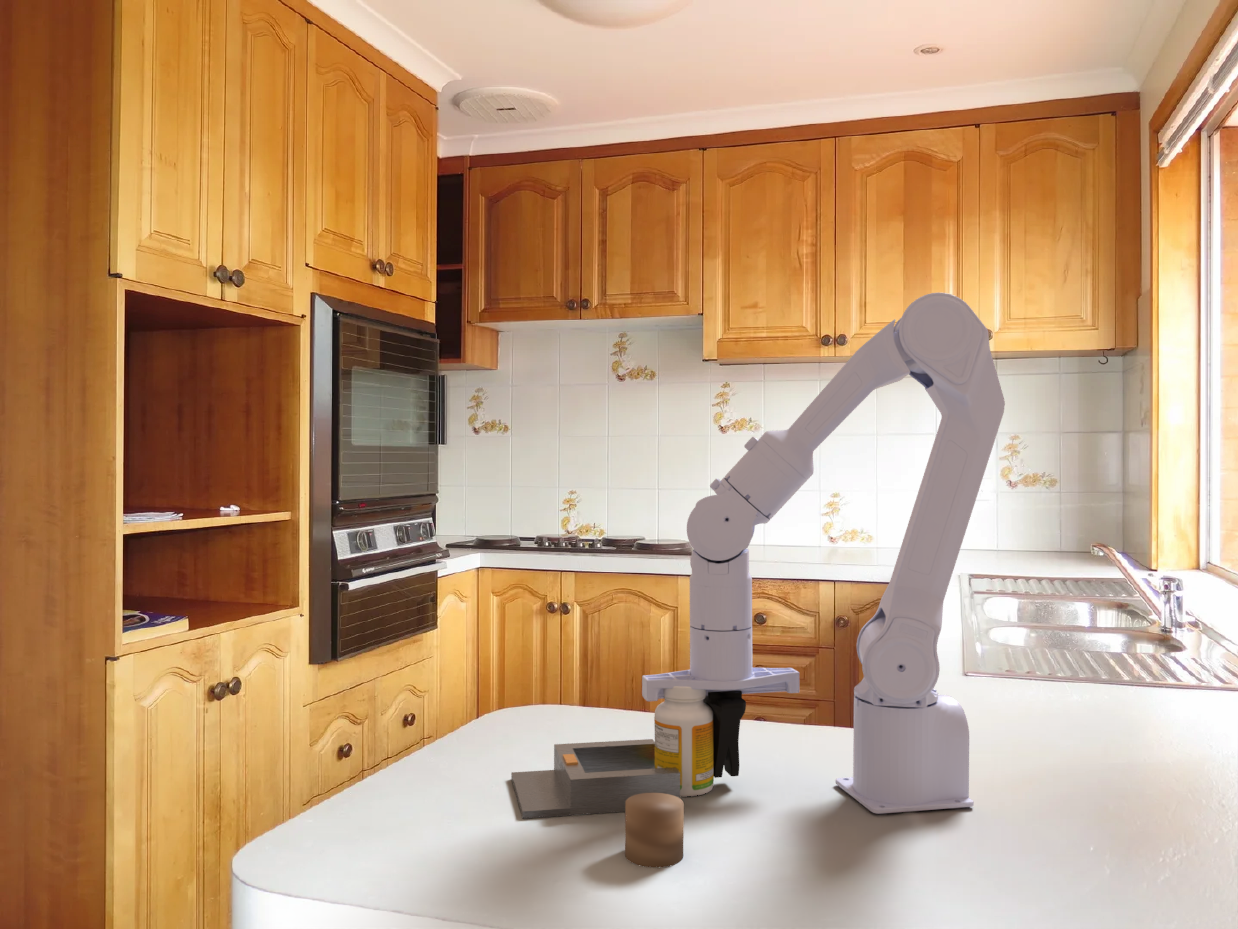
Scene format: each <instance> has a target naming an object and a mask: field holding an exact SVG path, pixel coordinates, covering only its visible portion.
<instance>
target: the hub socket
mask: <svg viewBox="0 0 1238 929" xmlns="http://www.w3.org/2000/svg"><path fill="white" fill-rule="evenodd" d="M553 747H554V748H553V749H554V750H553V762H554V763H553V769H550V770H549V769H547V770H546V769H545V770H533V771H532V770H531V771H529V770H528V771H513V772H512V771H511V782H512V786H513V790H514V793H515V795H516V796H515V797H516V799H517V804H518V807H519V811H520V814H521V818H522V819H536V818H551V817H553V818H554V817H565V816H566V817H567V816H579V815H580V816H581V815H593V814H594V815H595V814H597V815H598V814H609V813H610V814H611V813H623V812H624V813H625V805H626V800H627V799H628V798H629V797H631V796H634V795H637V794H642V793H664V794H670V795H673V796H676V797H678V798H680V799H681V797H680V772H679V771H678V770H677V768H676V767H672V768H655V739H653V738H650V739H649V738H646V739H645V738H644V739H632V740H631V739H629V740H627V739H626V740H611V741H610V740H609V741H608V740H607V741H595V742H593V741H591V742H576V743H575V742H574V743H573V742H572V743H559V744H558V743H557V744H556V743H555V744H554V745H553Z"/></svg>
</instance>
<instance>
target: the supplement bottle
mask: <svg viewBox="0 0 1238 929" xmlns="http://www.w3.org/2000/svg"><path fill="white" fill-rule="evenodd" d="M663 693H664V698H663V699H664V701H662V702H661V703H660V704H658V705H657V706H656V707H655V709H654V710H655V711H654V717H653V718H654V724H653V725H654V742H655V768H672V767H676V768H677V770H678V771H679V772H680V796H681V797H680V798H686V797H687V796H691V797H697V795H698V796H702V795H705V793H706V794H708V793H709V792H711V791H712V790H713V787H714V778H715V777H714V718H713V711H712V709H711V707H710V706H709V705H707V704H705V703H704V702H703V699H705V697H706V690H699V689H692V688H691V687H686V686H674V687H673V688H672V689H663ZM687 798H688V797H687Z"/></svg>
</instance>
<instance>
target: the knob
mask: <svg viewBox="0 0 1238 929" xmlns="http://www.w3.org/2000/svg"><path fill="white" fill-rule="evenodd" d="M684 808H685V804H684V801H683V800H682V799H681V797H680V798H678V797H676V796H673V795H670V794H664V793H642V794H637V795H634V796H631V797H629V798H628V799H627V800H626V805H625V812H624V813H625V814H624V815H625V816H624V817H625V822H624V823H625V824H624V827H625V828H624V829H625V830H624V836H625V837H624V838H625V839H624V849H625V850H624V856H625V858H626V860H627V861H628V862H630V863H631V864H633V865H637V866H639V865H640V867H643V866H644V867H645V868H653V869H654V868H655V869H656V868H657V869H658V868H659V867H660V868H667V866H668V867H671V866H670V865H672V866H675V865H676V864H679V863H681V861H683V859H684V827H685V826H684V825H685V823H684V814H685V813H684V812H685V809H684ZM660 868H659V869H660Z"/></svg>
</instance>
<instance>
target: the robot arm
mask: <svg viewBox="0 0 1238 929" xmlns="http://www.w3.org/2000/svg"><path fill="white" fill-rule="evenodd" d="M996 369H997V368H996V366H995V363H994V358H993V355H992V351H991V346H990V337H989V329H988V328H987V327H986V325H985V324H984V323H983V322H982V320H981V319H980V318H979V317H978V315H977V313H975V311H974V310H973V309H972V307H970V305H969V304H967V302H966V301H964V300H963V299H962V298H960V297H958V296H957V295H954V294H951V293H947V292H931V293H927V294H924V295H922V296H920V297H918V298H916V299H915V300H913V302H911V303H910V304H909V305H908V306H907V308H906V309H905V310H904V311H903V314H902V316H901V317H900V318H899V319H898V320H897V322H896V319H893V320H892V321H890V322H889V323H888V324H886V325H884V327H883V328H882V329H880V330H879V331H878V332H877V333H875V334H874V335H873V336H872V337H871V338H870V339H869V340H867V341H866V342H865V343H864V344H862V345H861V346H860V347H859V348H858V349H857V350H856V351H855V352H854V353H853V355H852V356H851V357H850V358H849V359H848V360H847V361H846V362H845V363H844V365H843V366H842V367H841V369H839V370H838V372H837V373H836V374H834V376H833V377H832V379H831V380H830V381H829V382H828V383H827V384H826V385H825V386H824V388H823V389H822V390H821V391H820V392H819V394H817V396H816V397H815V398H814V399H813V400H812V402H811V403H809V405H807V407H806V408H805V410H803V412H802V413H801V414H800V415H799V417H797V418H796V419H795V421H794V422H793V423H792V424H791V425H790V426H789V428H788V429H781V430H778V429H777V430H774V429H773V430H766V431H764V433H763V434H762V435H761V436H760V437H759V438H756V437H755V436H751V437H750V439H748V440H747V442H746V443H745V444H744V448H745V449H746V450H747V452H746V453H745V454H744V455H743V456H741V458H740V459H739V460H738V461H737V463H735V464H734V466H732V468H731V469H730V470H729V471H728V472H727V473H726V474H725V475H724V476H723V478H722V479H721V480H720V479H719V478H715V479H714V480H713V481H712V482H711V483H710V485H709V487H710V489H711V490H712V491H713V492H714V493H715V494H712V495H708V496H705V497H703V498H701V499H699V500H697V501H696V503H695V506H694V508H693V509H692V510H691V512H690V514H689V515H688V516H689V517H688V518H687V522H686V534H687V539H688V541H689V543H690V547H691V548H692V550H691V556H690V568H691V574H690V575H689V669H685V670H678V671H672V672H671V671H670V672H664V673H658V674H656V673H655V674H647V675H645V674H644V675H642V676H641V679H642V680H641V686H642V687H641V694H642V695H641V696H642V698H643V699H644V700H645V701H646V702H657V701H659V700H661V699H664V693H663V689H672V688H673V687H674V686H686V687H691V688H692V689H699V690H706V697H705V699H703V702H704V703H705V704H707V705H709V706H710V707H711V709H712V711H713V718H714V778H715V779H716V778H717V779H718V778H722V777H723V771H725V772H726V773H727V774H728V775H729V776H730V777H739V776H740V775H739V772H740V749H739V739H740V738H739V736H740V726H741V720H742V718H743V717H744V715H745V712H746V708H747V702H746V700H745V699H744V698H743V695H744V694H745V695H746V694H747V695H748V694H749V695H750V694H762V693H763V694H764V693H780V692H781V693H782V692H786V693H788V694H798V693H800V672H799V671H798V670H797V669H794V668H793V667H753V577H752V575H751V573H750V549H749V548H748V547H749V546H750V544H751V540H752V539H753V537H754V533H755V528H756V525H757V526H758V525H760V524H762V525H763V524H765V525H766V524H768V523H769V522H770V521H771V520H772V518H774V517H775V516H776V514H777V513H778V512H779V511H780V510H781V509H782V508H783V507H784V506H785V504H787V503H788V502H789V500H790V499H792V497H793V496H794V495H795V494H796V493H797V492H798V491H799V489H800V488H801V487H802V486H803V485H804V484H805V483H806V482H807V481H808V480H809V479H810V478H811V477H812V476H813V475H814V472H815V471H814V469H815V468H814V455H813V454H814V451H815V450H816V449H817V448H818V447H819V446H821V444H822V443H823V442H824V441H825V440H826V439H827V438H828V437H829V436H830V435H831V434H832V432H833V433H834V431H835V430H836V429H837V428H838V427H839V426H840V425H841V424H842V423H843V422H844V421H845V420H846V418H848V417H849V415H851V414H852V412H853V411H854V410H856V409H857V407H858V406H859V405H860V404H862V403H863V401H864V400H865V399H867V397H868V396H869V395H871V393H872V392H873V391H875V390H876V389H880V388H882V387H885V386H890V385H892V384H895V383H898V382H900V381H902V380H904V378H906V377H907V376H908V375H909V376H910V377H911V378H913V379H914V380H916V381H917V382H918V383H919V384H920V385H922V386H923V387H924V389H925V391H926V392H927V394H928V396H929V398H930V399H931V401H932V402H933V404H934V406H935V407H936V408H937V410H938V411H939V412H940V415H941V420H940V422H939V426H938V428H937V431H936V435H935V438H934V440H933V441H934V442H933V444H932V447H931V449H930V450H931V451H930V454H929V457H928V461H927V464H926V466H925V469H924V473H923V476H922V478H921V479H922V480H921V483H920V485H919V489H918V492H917V495H916V499H915V501H914V503H913V508H912V512H911V515H910V517H909V520H908V523H907V527H906V530H905V533H904V536H903V539H902V542H901V545H900V548H899V552H898V555H897V557H896V558H897V559H896V561H895V564H894V568H893V571H892V574H891V577H890V580H889V583H888V584H887V587H886V588H885V590H884V592H883V594H882V596H881V599H880V601H879V605H878V608H877V609H876V612H875V614H874V615H873V616H872V617H871V618H870V619H869V620H868V621H866V622H865V624H864V625H863V626H862V627H861V629H860V631H859V633H858V635H857V639H856V652H857V657H858V659H859V662H860V663H861V665H862V666H861V669H862V670H861V671H862V673H863V677H862V680H861V681H860V682H858V684H856V685H855V686H854V687H853V755H852V756H853V757H852V758H853V759H852V761H853V762H852V765H853V766H852V770H853V771H852V772H853V773H852V776H849V777H848V776H847V777H846V776H845V777H838V778H835V780H834V781H835V784H836V786H838V787H839V788H840V789H842V790H843V791H844V792H845V793H847V794H848V795H849V796H851V797H852V798H853V799H855V800H856V801H857V802H859V804H861V805H862V806H863V807H865V808H866V809H867V810H868V811H870V812H871V813H873V814H877V815H878V814H880V815H881V814H892V813H894V814H895V813H902V812H903V813H906V812H919V811H931V810H932V811H933V810H943V809H944V810H946V809H961V808H971V807H974V800H973V799H971V798H970V792H969V790H970V729H969V724H968V723H969V722H968V718H967V715H966V713H965V710H964V708H963V706H962V705H961V703H960V702H959V701H958V700H957V699H955V698H954V697H953V696H951V695H947V694H939V692H937V689H936V688H935V687H936V684H937V683H938V679H939V676H940V668H941V667H940V662H939V661H940V660H939V654H938V642H939V637H940V633H941V630H942V624H943V611H944V609H943V608H944V600H945V598H946V595H947V591H948V588H949V585H950V582H951V579H952V576H953V571H954V570H955V566H956V563H957V560H958V556H959V555H960V550H961V548H962V544H963V542H964V538H965V536H966V533H967V528H968V525H969V523H970V519H971V517H972V516H971V515H972V513H973V510H974V507H975V504H976V500H977V497H978V494H979V492H980V488H981V484H982V482H983V479H984V476H985V473H986V469H987V466H988V463H989V460H990V456H991V454H992V451H993V447H994V443H995V440H996V439H997V438H996V437H997V434H998V431H999V429H1000V425H1001V423H1002V419H1003V416H1004V413H1005V405H1006V403H1005V402H1006V401H1005V398H1004V392H1003V390H1002V386H1001V382H1000V380H999V379H1000V378H999V377H998V374H997V370H996Z"/></svg>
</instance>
